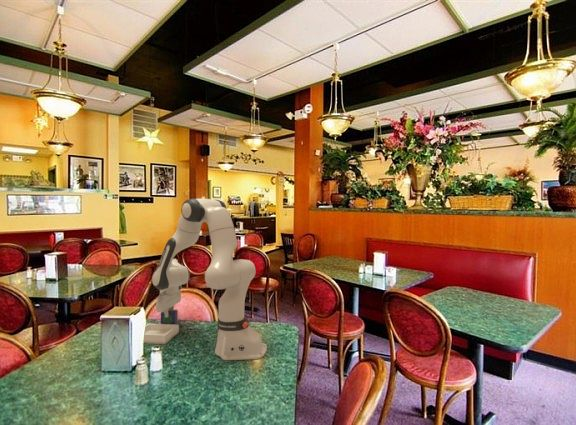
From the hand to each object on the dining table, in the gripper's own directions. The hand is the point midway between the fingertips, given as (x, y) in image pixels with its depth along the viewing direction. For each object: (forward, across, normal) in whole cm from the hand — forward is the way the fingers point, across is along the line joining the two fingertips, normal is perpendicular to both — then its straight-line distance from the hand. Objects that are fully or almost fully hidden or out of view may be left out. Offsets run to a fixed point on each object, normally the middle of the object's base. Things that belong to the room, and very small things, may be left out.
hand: (169, 315), depth 166 cm
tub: (+6, -14, -1) cm, 15 cm away
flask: (+6, 0, 0) cm, 6 cm away
